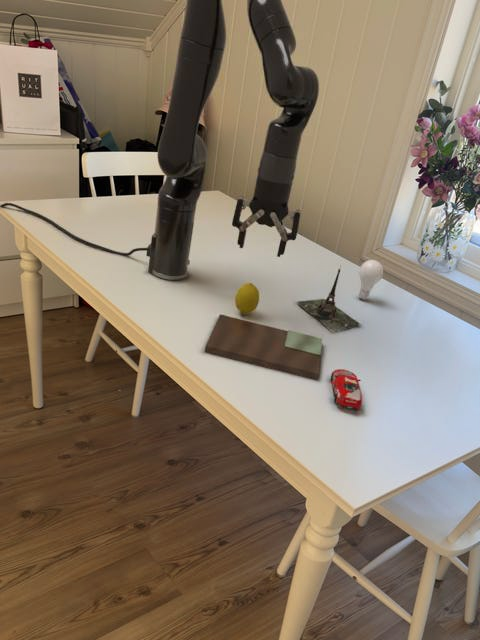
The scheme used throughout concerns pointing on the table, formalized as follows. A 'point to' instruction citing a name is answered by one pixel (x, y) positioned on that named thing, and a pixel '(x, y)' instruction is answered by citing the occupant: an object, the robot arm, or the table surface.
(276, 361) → the board
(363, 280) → the lightbulb
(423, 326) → the table surface
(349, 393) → the race car
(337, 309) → the eiffel tower souvenir
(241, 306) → the lemon
